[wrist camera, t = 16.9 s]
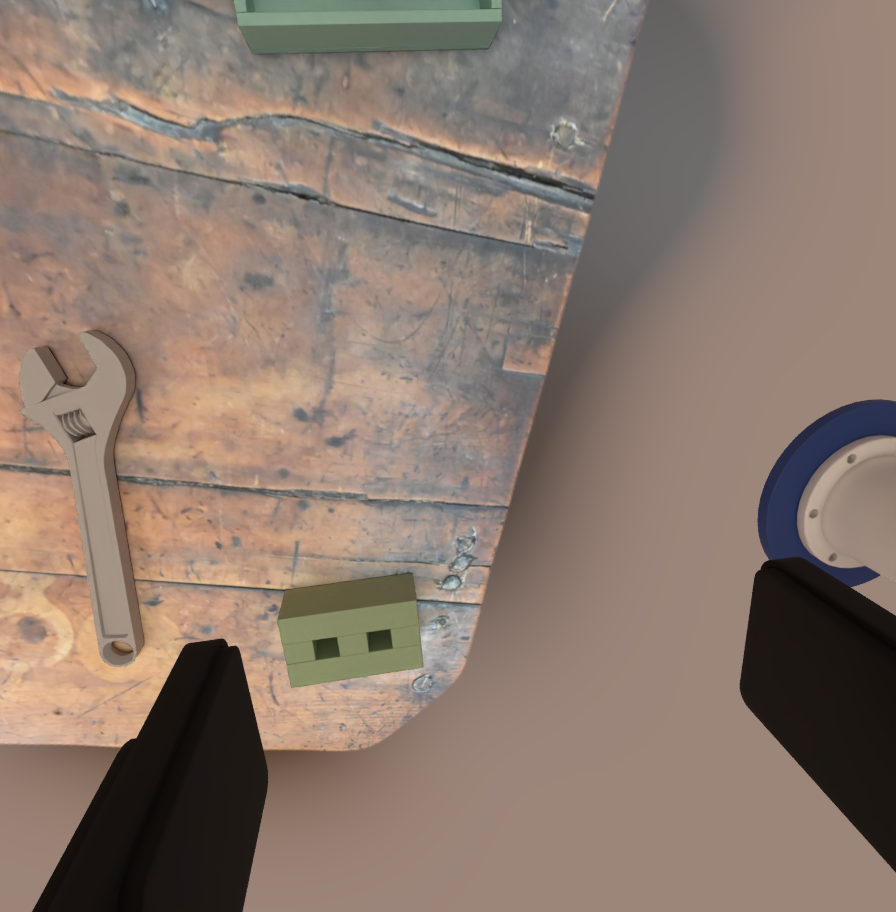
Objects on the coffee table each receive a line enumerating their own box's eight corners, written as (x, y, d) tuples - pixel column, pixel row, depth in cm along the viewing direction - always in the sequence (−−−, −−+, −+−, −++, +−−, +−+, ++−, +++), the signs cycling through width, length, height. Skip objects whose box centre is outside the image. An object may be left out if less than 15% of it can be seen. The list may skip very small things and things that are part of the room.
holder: (285, 589, 42) (277, 619, 38) (412, 572, 43) (416, 600, 39) (297, 653, 44) (291, 688, 40) (418, 635, 45) (423, 667, 41)
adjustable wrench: (148, 654, 42) (138, 669, 40) (59, 652, 41) (45, 667, 39) (134, 338, 34) (122, 341, 33) (25, 325, 33) (7, 327, 32)
